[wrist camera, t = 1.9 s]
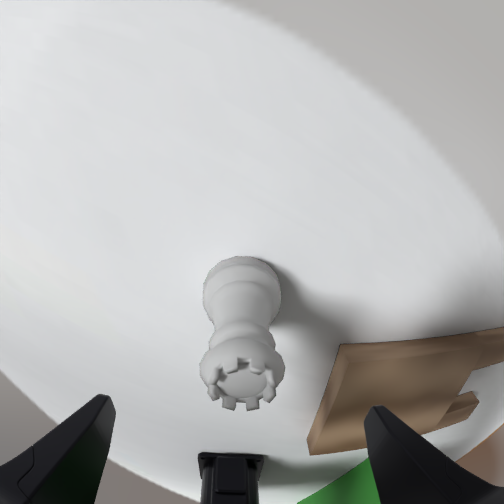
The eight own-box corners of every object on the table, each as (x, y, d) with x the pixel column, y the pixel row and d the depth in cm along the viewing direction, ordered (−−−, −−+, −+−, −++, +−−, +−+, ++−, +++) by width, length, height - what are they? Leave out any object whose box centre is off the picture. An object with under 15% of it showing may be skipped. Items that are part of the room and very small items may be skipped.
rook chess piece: (197, 257, 16) (163, 347, 9) (276, 247, 16) (304, 333, 9) (211, 324, 18) (196, 427, 10) (282, 315, 18) (305, 417, 10)
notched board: (460, 408, 24) (467, 419, 22) (306, 439, 23) (309, 455, 21) (506, 326, 20) (517, 336, 18) (340, 344, 19) (348, 362, 17)
